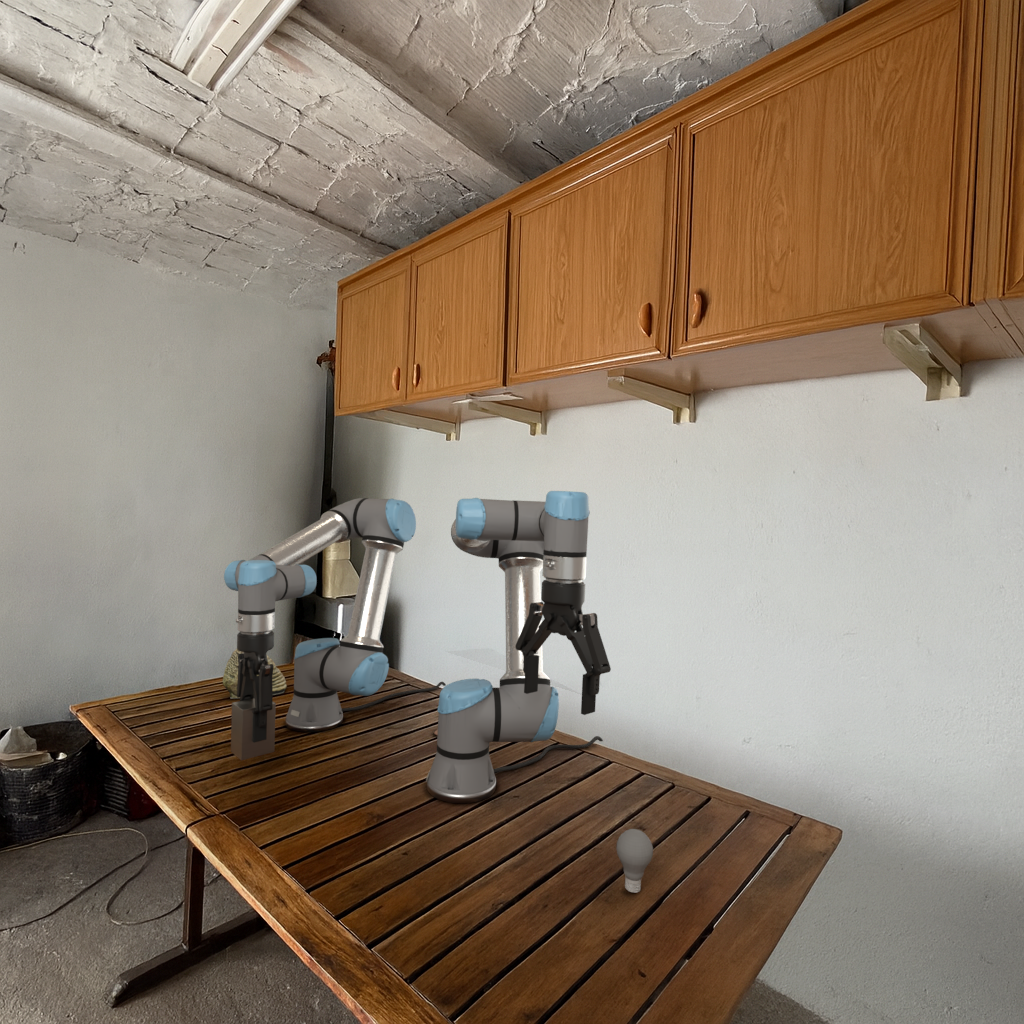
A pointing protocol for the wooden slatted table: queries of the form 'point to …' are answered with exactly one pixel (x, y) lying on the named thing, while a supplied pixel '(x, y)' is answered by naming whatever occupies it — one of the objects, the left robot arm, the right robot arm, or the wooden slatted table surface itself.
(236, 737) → the grey boxy piece
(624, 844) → the light bulb
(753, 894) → the wooden slatted table surface
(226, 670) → the fossil
